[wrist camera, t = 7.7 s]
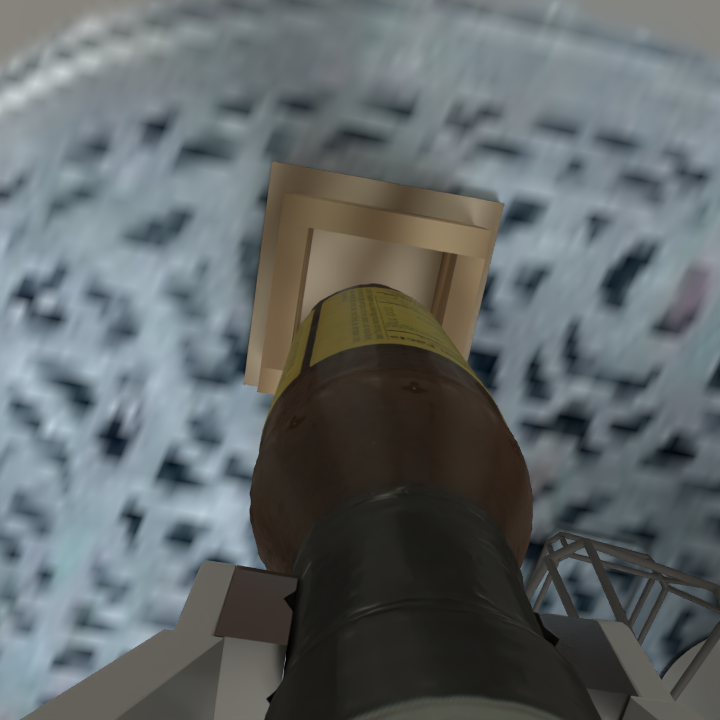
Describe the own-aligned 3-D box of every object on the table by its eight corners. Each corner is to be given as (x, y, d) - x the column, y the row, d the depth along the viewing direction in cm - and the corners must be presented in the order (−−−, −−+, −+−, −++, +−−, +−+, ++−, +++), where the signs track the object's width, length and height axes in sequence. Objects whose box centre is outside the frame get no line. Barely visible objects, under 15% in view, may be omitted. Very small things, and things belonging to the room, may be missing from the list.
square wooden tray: (499, 202, 37) (526, 206, 31) (451, 411, 41) (466, 450, 35) (274, 161, 37) (258, 157, 31) (247, 378, 40) (227, 412, 34)
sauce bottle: (353, 447, 26) (337, 1146, 7) (264, 335, 25) (-45, 838, 6) (477, 365, 25) (840, 933, 6) (392, 243, 24) (523, 491, 5)
